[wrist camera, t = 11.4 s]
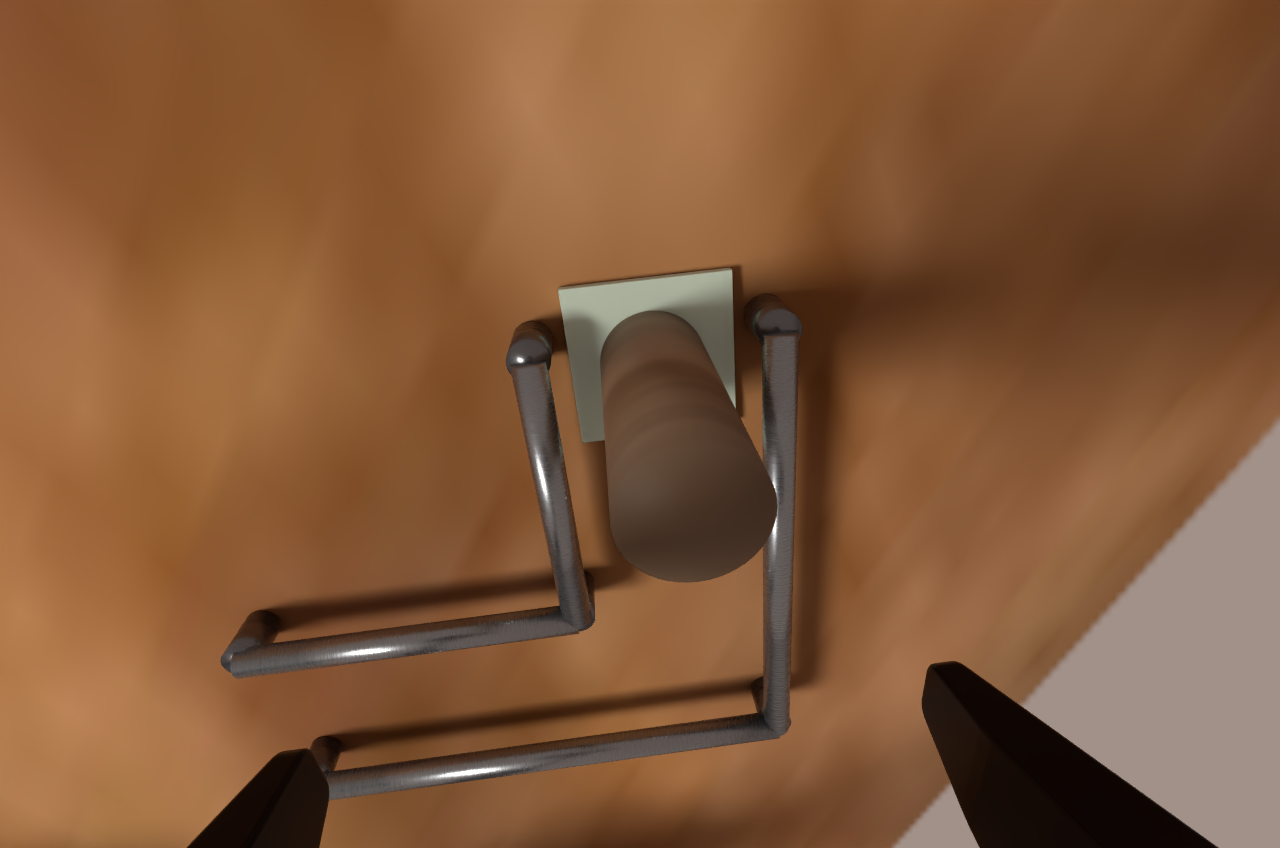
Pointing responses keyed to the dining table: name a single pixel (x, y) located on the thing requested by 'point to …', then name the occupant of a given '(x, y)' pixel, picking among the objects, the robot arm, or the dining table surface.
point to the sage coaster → (609, 303)
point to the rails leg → (779, 459)
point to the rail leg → (263, 657)
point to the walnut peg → (678, 455)
